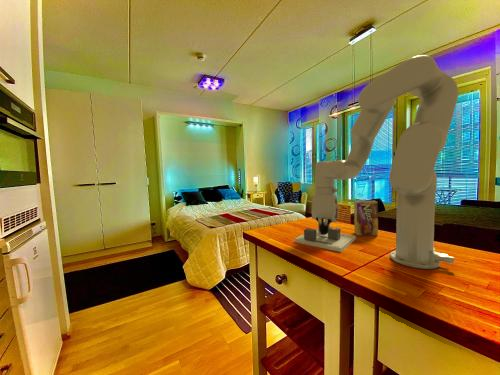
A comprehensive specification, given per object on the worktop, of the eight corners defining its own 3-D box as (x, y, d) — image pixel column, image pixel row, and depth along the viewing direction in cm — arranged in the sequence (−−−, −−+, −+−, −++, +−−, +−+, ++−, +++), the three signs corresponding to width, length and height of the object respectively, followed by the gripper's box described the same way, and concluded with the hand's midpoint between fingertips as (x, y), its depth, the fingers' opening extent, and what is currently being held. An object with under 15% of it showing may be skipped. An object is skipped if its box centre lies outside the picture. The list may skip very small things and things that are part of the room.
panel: (355, 239, 91) (355, 235, 91) (341, 252, 78) (341, 247, 78) (313, 232, 104) (313, 228, 104) (294, 242, 91) (294, 238, 90)
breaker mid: (340, 238, 88) (340, 228, 88) (337, 239, 86) (337, 229, 86) (330, 236, 91) (330, 226, 91) (328, 238, 89) (327, 228, 88)
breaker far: (329, 231, 98) (329, 222, 98) (327, 232, 96) (327, 224, 96) (321, 229, 101) (321, 221, 101) (318, 231, 99) (318, 222, 98)
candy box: (374, 233, 99) (374, 200, 98) (378, 235, 95) (378, 201, 94) (353, 232, 101) (354, 200, 100) (356, 235, 97) (356, 201, 96)
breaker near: (316, 239, 88) (316, 229, 87) (313, 241, 86) (313, 231, 85) (307, 237, 90) (307, 228, 90) (304, 239, 88) (303, 229, 88)
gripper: (346, 191, 87) (345, 235, 89) (311, 189, 97) (311, 229, 99) (339, 193, 82) (338, 239, 84) (303, 190, 92) (303, 232, 93)
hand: (324, 233), depth 91 cm, fingers closed
